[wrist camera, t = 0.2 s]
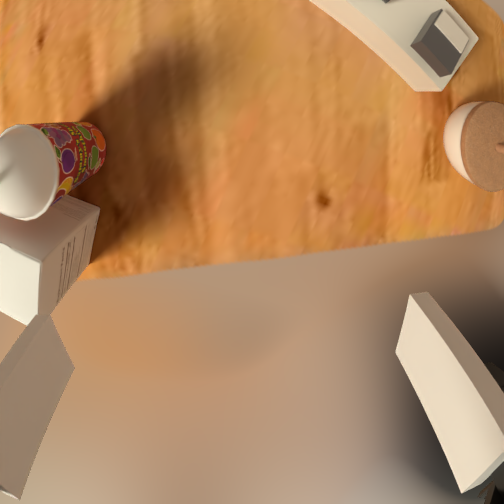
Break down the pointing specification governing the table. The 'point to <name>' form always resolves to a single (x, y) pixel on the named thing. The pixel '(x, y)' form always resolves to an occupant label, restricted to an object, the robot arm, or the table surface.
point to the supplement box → (44, 257)
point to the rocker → (440, 43)
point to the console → (397, 34)
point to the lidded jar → (477, 143)
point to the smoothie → (46, 164)
